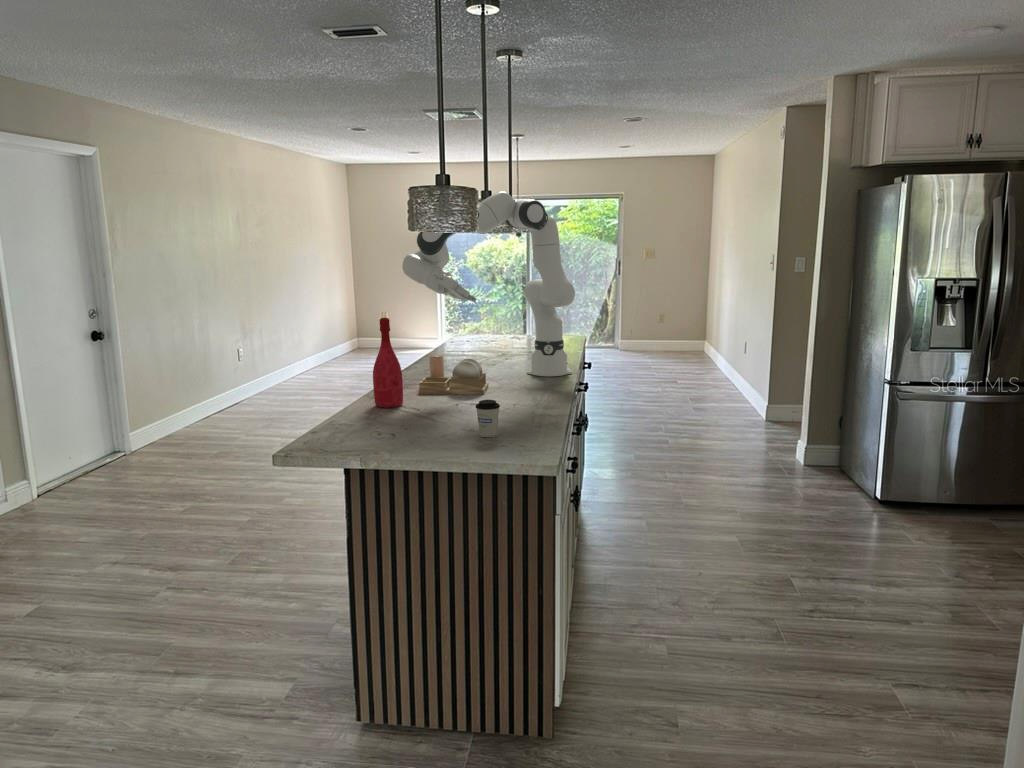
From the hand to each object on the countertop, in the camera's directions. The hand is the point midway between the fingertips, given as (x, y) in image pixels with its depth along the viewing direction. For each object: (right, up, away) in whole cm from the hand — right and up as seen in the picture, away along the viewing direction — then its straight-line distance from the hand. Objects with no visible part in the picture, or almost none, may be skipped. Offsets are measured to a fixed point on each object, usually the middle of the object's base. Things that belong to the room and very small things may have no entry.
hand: (472, 297), depth 250 cm
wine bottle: (-27, -39, -16) cm, 50 cm away
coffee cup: (+8, -46, -55) cm, 72 cm away
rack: (-7, -34, +6) cm, 35 cm away
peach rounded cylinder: (-15, -31, +19) cm, 40 cm away
